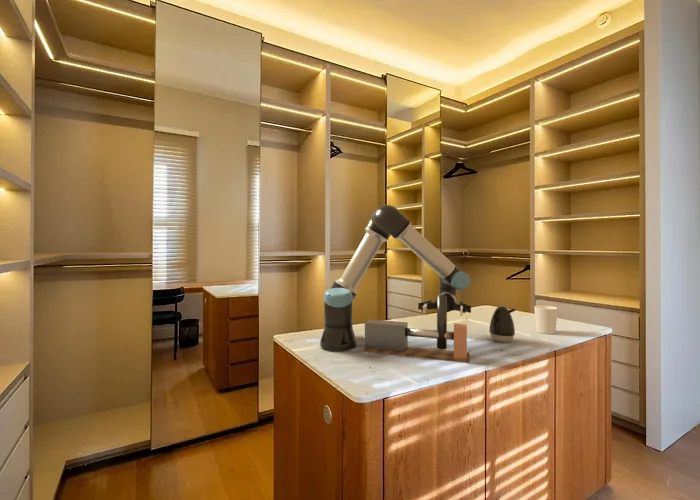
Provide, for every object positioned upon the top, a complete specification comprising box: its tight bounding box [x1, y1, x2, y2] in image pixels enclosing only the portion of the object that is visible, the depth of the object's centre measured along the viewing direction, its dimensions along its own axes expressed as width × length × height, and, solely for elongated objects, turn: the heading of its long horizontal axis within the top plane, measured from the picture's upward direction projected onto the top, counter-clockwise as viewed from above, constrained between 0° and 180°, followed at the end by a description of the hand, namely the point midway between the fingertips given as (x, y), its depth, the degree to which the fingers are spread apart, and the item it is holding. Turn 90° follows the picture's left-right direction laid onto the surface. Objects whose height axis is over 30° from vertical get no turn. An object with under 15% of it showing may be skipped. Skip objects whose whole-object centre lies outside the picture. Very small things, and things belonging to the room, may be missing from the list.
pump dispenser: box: [489, 305, 516, 343], centre depth 152 cm, size 10×10×15 cm
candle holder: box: [533, 305, 558, 335], centre depth 167 cm, size 10×10×12 cm
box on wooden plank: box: [364, 319, 409, 352], centre depth 139 cm, size 16×6×10 cm, turn 71°
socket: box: [453, 322, 468, 359], centre depth 130 cm, size 4×7×11 cm, turn 161°
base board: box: [363, 346, 471, 364], centre depth 135 cm, size 40×9×1 cm, turn 71°
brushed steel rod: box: [405, 294, 454, 350], centre depth 133 cm, size 24×4×20 cm, turn 71°
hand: (442, 311), depth 131 cm, fingers open, 13 cm apart
